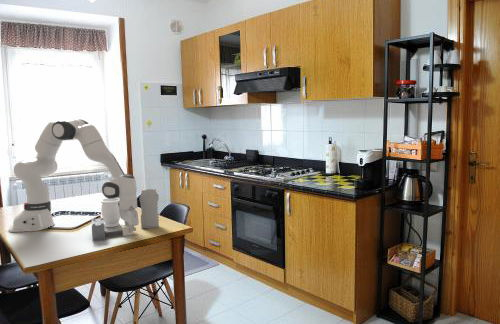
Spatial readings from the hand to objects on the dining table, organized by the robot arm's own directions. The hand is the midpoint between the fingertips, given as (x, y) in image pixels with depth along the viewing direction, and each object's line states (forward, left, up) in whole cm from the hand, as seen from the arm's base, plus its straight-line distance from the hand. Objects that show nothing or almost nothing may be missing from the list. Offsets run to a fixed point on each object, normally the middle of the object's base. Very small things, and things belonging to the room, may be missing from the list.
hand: (129, 230), depth 207 cm
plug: (-6, -1, -2) cm, 7 cm away
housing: (-15, 0, -2) cm, 16 cm away
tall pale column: (+12, +8, -2) cm, 14 cm away
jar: (-8, +20, -2) cm, 22 cm away
